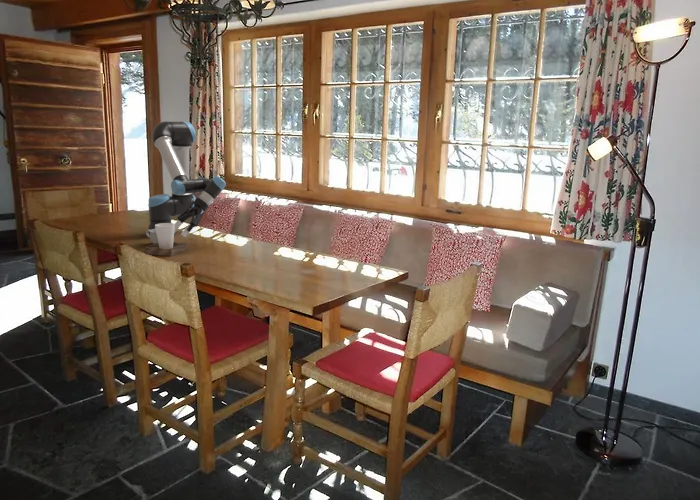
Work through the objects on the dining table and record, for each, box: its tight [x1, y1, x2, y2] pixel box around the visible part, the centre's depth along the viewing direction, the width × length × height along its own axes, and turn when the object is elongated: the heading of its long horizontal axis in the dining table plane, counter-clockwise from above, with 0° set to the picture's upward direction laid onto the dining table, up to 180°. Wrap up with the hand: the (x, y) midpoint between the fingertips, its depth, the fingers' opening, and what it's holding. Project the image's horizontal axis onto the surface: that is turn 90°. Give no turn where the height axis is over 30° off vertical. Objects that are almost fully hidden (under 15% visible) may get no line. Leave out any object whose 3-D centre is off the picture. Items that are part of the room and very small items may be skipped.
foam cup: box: [155, 222, 175, 249], centre depth 272 cm, size 10×9×13 cm
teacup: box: [145, 229, 158, 244], centre depth 290 cm, size 14×11×8 cm
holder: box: [144, 241, 188, 257], centre depth 274 cm, size 15×15×4 cm
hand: (177, 233), depth 276 cm, fingers open, 13 cm apart
